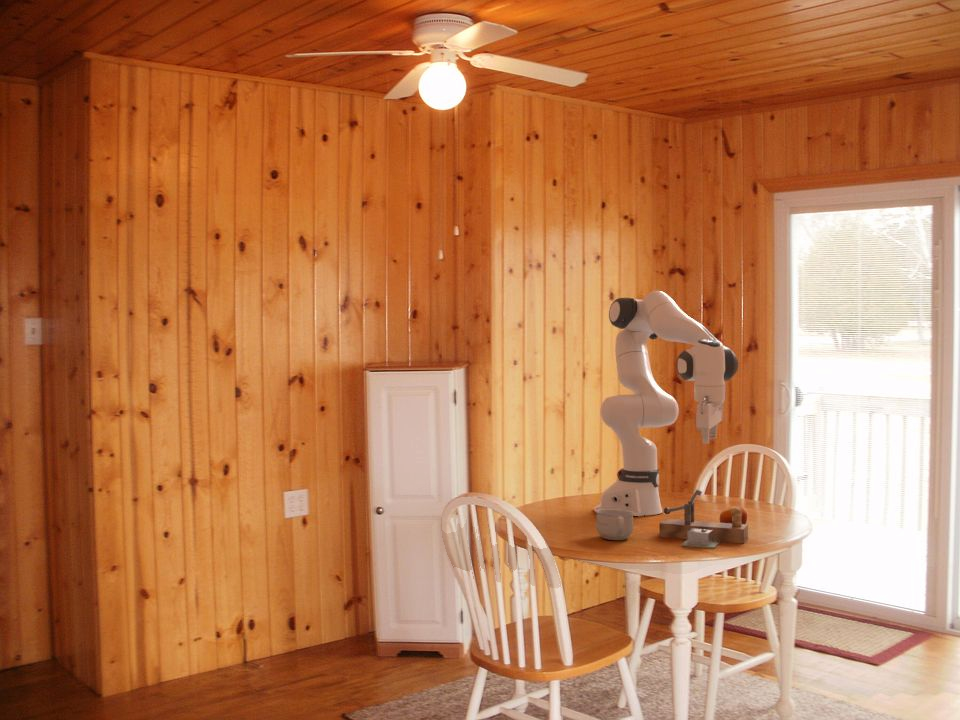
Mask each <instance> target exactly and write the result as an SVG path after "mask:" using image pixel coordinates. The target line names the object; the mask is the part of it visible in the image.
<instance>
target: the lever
mask: <svg viewBox="0 0 960 720" xmlns="http://www.w3.org/2000/svg"><path fill="white" fill-rule="evenodd" d="M703 491H704V490H703ZM703 491H702V490H701V489H700V488H696V490H695V492H694V493H693V495H692V497H691V498H690V500H689V501H690V502H689V504H691V506H692V504H693V502H694V503H695V500H696V499H697V497H700V496H701V495H702V494H703ZM682 510H684V504H683V505H679V506H675V507H671V508H669V507H667V506H666V507H664V509H663V513H664V514H665V515H670V514H671V513H672V512H677V511H682Z"/></svg>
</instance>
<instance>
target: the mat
mask: <svg viewBox="0 0 960 720" xmlns="http://www.w3.org/2000/svg"><path fill="white" fill-rule="evenodd" d="M713 542H714V543H712V544H711V545H709V546H705V545H696V544H687V539H685V541H684V542H682V543H681V547H689V548H700V549H701V548H702V549H715V548H717V546H718V545H719V544H720V542H717V541H713Z"/></svg>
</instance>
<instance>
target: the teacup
mask: <svg viewBox="0 0 960 720" xmlns="http://www.w3.org/2000/svg"><path fill="white" fill-rule="evenodd" d="M595 513H596V522H595V523H596V531H597V533H598V534H599V535H600V536H601V537H602V538H603V539H604V540H605V539H606V540H610V541H623V540H624V541H625V540H627V538H628V537H630V536H631V535H632V533H633V528H634V517H633V516H634V513H633V512H631V511H626V510H618V509H601V510H597V511H596V512H595Z"/></svg>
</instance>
